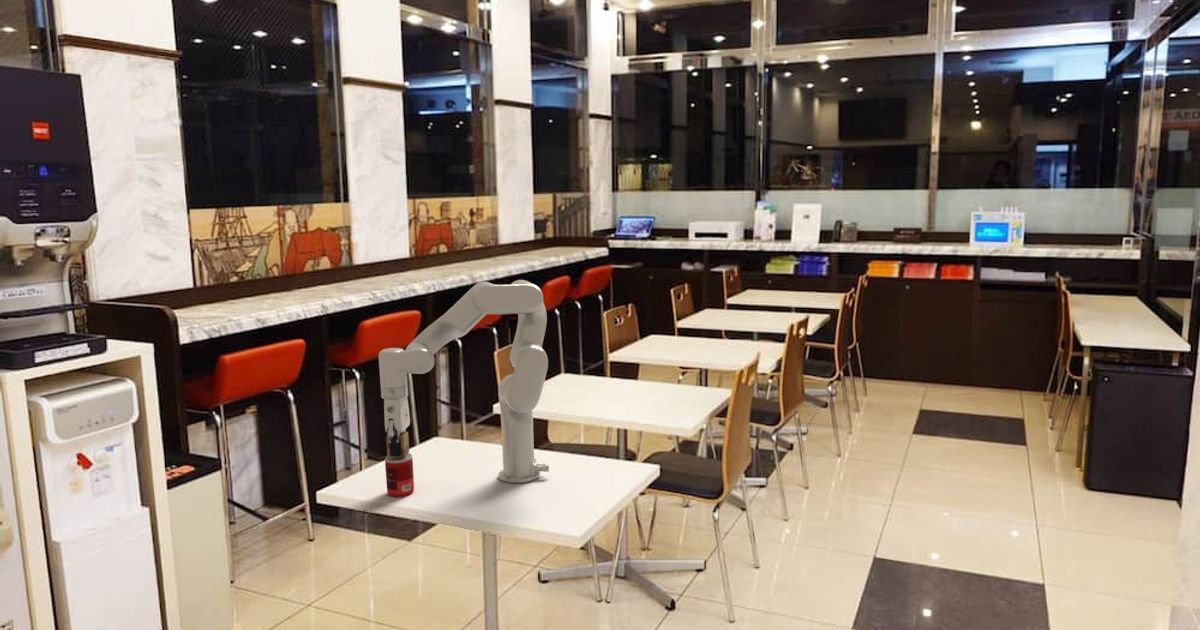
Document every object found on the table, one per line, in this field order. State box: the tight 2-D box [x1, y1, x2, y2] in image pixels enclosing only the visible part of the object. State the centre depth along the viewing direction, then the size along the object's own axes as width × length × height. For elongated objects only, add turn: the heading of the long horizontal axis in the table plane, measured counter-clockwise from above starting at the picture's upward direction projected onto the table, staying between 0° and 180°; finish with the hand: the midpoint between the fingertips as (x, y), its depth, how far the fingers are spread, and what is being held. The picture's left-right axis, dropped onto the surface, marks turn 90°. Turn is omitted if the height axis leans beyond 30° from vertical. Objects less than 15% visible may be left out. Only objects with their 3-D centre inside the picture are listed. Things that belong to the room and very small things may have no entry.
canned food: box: [384, 452, 415, 498], centre depth 250 cm, size 8×8×11 cm
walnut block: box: [385, 431, 410, 457], centre depth 249 cm, size 5×5×6 cm
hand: (398, 452), depth 249 cm, fingers closed on walnut block, 4 cm apart
